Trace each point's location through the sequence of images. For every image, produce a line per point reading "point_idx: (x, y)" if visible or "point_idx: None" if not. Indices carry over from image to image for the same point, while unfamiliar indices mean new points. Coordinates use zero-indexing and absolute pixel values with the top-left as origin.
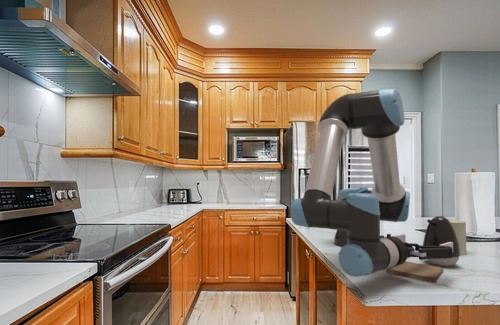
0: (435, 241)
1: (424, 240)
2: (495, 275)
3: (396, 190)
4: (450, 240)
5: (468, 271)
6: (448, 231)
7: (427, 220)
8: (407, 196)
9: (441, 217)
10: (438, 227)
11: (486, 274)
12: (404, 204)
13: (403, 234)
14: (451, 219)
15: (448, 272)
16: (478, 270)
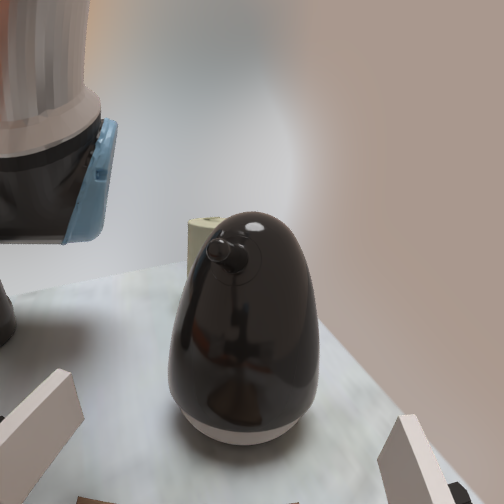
0: (247, 371)
1: (179, 356)
2: (403, 413)
3: (60, 92)
4: (310, 344)
5: (344, 434)
6: (305, 299)
7: (208, 246)
8: (106, 131)
9: (268, 219)
10: (263, 284)
11: (388, 423)
12: (90, 165)
13: (58, 375)
14: (219, 218)
15: (310, 498)
16: (352, 405)
